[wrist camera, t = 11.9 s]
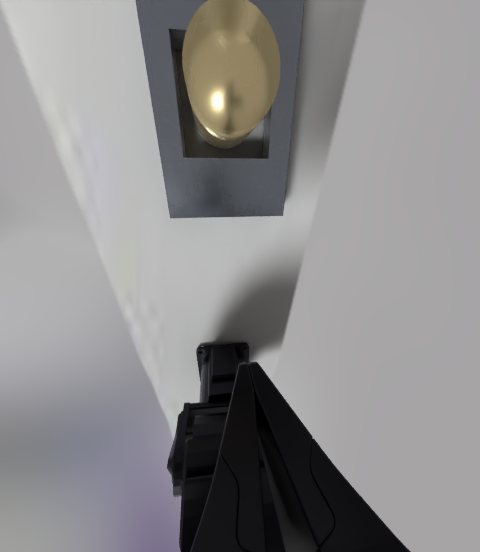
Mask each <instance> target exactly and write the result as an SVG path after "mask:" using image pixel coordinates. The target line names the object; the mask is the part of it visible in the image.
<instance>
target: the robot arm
mask: <svg viewBox="0 0 480 552" xmlns="http://www.w3.org/2000/svg"><path fill="white" fill-rule="evenodd" d="M196 354H197V361H198V368H199V375H200V382H201V386H200V403H184V409H183V411H181V413H180V414H179V415H178V422H177V429H176V434H175V438H174V441H173V445H172V448H171V452H170V456H169V459H168V464H167V469H168V471H169V472H170V474H171V475H172V483H173V495H174V497H178V496H182V499H181V520H180V538H179V540H180V541H179V544H180V550H181V552H410V551H409V550H408V549H407V548H406V547H405V546H404V545H403V543H402V542H401V541H400V540H399V539H398V538H397V537H396V536H395V535H394V534H393V533H392V532H391V530H390V529H389V528H388V527H387V526H386V525H385V524H384V522H383V521H382V520H381V519H380V518H379V517H378V516H377V514H376V513H375V512H374V511H373V510H372V509H371V508H370V506H369V505H368V504H367V503H366V502H365V501H364V500H363V498H362V497H361V496H360V495H359V494H358V493H357V492H356V490H355V489H354V488H353V487H352V486H351V485H350V484H349V482H348V481H347V480H346V479H345V478H344V476H343V475H342V474H341V473H340V472H339V470H338V469H337V468H336V467H335V466H334V464H333V463H332V462H331V460H330V459H329V458H328V457H327V455H326V454H325V453H324V451H323V450H322V449H321V448H320V446H319V445H318V443H317V442H316V441H315V439H312V435H311V434H310V433H309V431H308V430H307V429H306V427H305V426H304V425H303V423H302V422H301V421H300V419H299V418H298V416H297V415H296V414H295V412H294V411H293V410H292V408H291V407H290V406H289V404H288V403H287V402H286V400H285V399H284V398H283V396H282V395H281V394H280V392H279V391H278V389H277V388H276V387H275V385H274V384H273V383H272V381H271V380H270V379H269V377H268V376H267V375H266V373H265V372H264V370H263V369H262V368H261V366H260V365H259V364H258V363H257V362H250V363H248V360H249V346H248V344H247V343H236V344H226V345H216V346H205V347H199V348H197V351H196Z"/></svg>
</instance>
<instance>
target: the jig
mask: <svg viewBox="0 0 480 552" xmlns="http://www.w3.org/2000/svg"><path fill="white" fill-rule="evenodd" d="M207 1H208V0H136V6H137V12H138V19H139V25H140V31H141V38H142V44H143V50H144V56H145V63H146V69H147V75H148V82H149V88H150V94H151V100H152V107H153V113H154V119H155V126H156V132H157V138H158V144H159V151H160V157H161V163H162V170H163V176H164V182H165V188H166V195H167V201H168V207H169V214H170V218H198V217H245V216H283V210H284V200H285V190H286V180H287V170H288V160H289V150H290V140H291V129H292V119H293V109H294V99H295V89H296V79H297V69H298V59H299V49H300V39H301V28H302V18H303V8H304V0H248V1H250V2H251V3H252V4H254V5H255V6H256V7H257V8H258V9H259V10H260V11H261V12H262V13H263V15H264V16H265V17H266V19H267V20H268V22H269V24H270V26H271V28H272V30H273V32H274V35H275V38H276V41H277V44H278V49H279V54H280V81H279V87H278V91H277V94H276V97H275V100H274V102H273V104H272V106H271V108H270V110H269V111H268V113H267V114H266V115H265V117H264V132H263V154H262V159H249V158H186V149H185V139H184V130H183V121H182V111H181V102H180V92H179V83H178V74H177V64H176V55H175V50H178V51H183V42H184V38H185V34H186V31H187V28H188V25H189V23H190V21H191V19H192V17H193V16H194V14H195V13H196V11H197V10H198V9H199V8H200V7H201V6H202V5H203V4H204V3H205V2H207Z"/></svg>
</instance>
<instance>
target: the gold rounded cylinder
mask: <svg viewBox="0 0 480 552" xmlns="http://www.w3.org/2000/svg"><path fill="white" fill-rule="evenodd" d="M182 64H183V73H184V79H185V83H186V87H187V91H188V95H189V99H190V104H191V108H192V112H193V116H194V120H195V123H196V126H197V128H198V130H199V132H200V133H201V135H202V136H203V137H204V139H205V140H206V141H208V142H209V143H210V144H212V145H213V146H215V147H218V148H223V149H228V148H233V147H235V146H237V145H239V144H240V143H241V142H243V141H244V139H245V138H246V137H247V136H248V135H249V134H250V133H251V131H252V130H253V129H254V128H255V127H256V126H257V125H258V123H259V122H260V121H261V120H262V119H263V118H264V117H265V115H266V114H267V113H268V111H269V110H270V108H271V106H272V104H273V102H274V100H275V97H276V94H277V91H278V87H279V81H280V54H279V49H278V44H277V41H276V38H275V35H274V32H273V30H272V28H271V26H270V24H269V22H268V20H267V19H266V17H265V16H264V15H263V13H262V12H261V11H260V10H259V9H258V8H257V7H256V6H255V5H254V4H252V3H251V2H250V1H248V0H208V1H207V2H205V3H204V4H203V5H202V6H201V7H200V8H199V9H198V10H197V11H196V13H195V14H194V16H193V17H192V19H191V21H190V23H189V25H188V28H187V31H186V34H185V38H184V42H183V51H182Z"/></svg>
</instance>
